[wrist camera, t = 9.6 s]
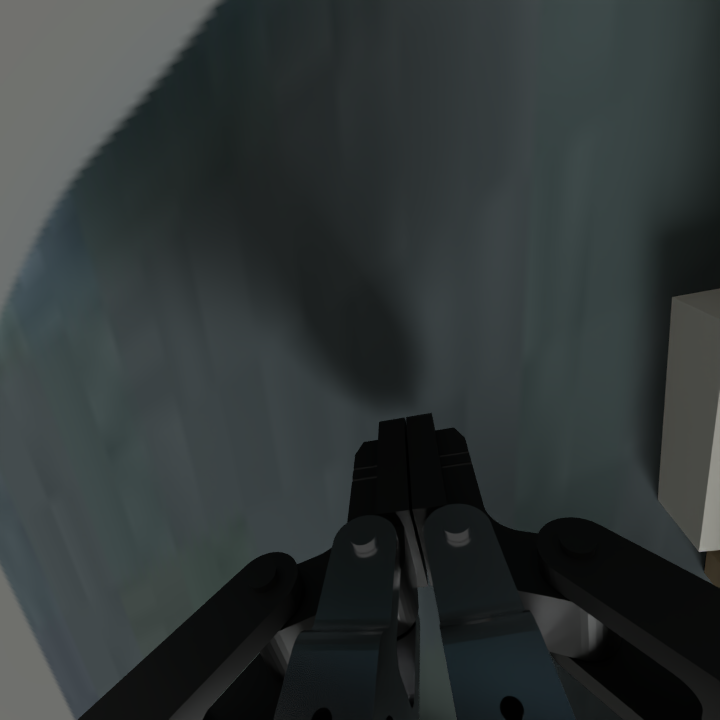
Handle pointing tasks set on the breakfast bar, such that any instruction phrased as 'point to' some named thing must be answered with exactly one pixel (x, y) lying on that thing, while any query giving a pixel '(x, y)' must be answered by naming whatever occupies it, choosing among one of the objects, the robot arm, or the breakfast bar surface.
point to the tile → (693, 420)
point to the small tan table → (713, 567)
